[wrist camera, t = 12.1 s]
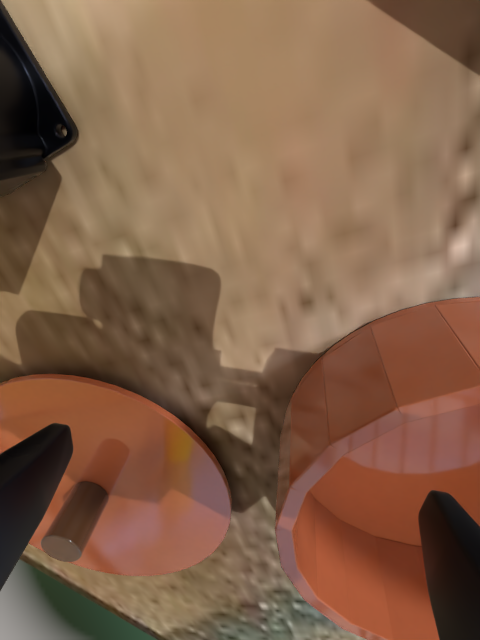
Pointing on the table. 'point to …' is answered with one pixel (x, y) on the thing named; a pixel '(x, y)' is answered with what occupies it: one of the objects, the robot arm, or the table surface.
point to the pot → (379, 465)
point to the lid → (120, 477)
